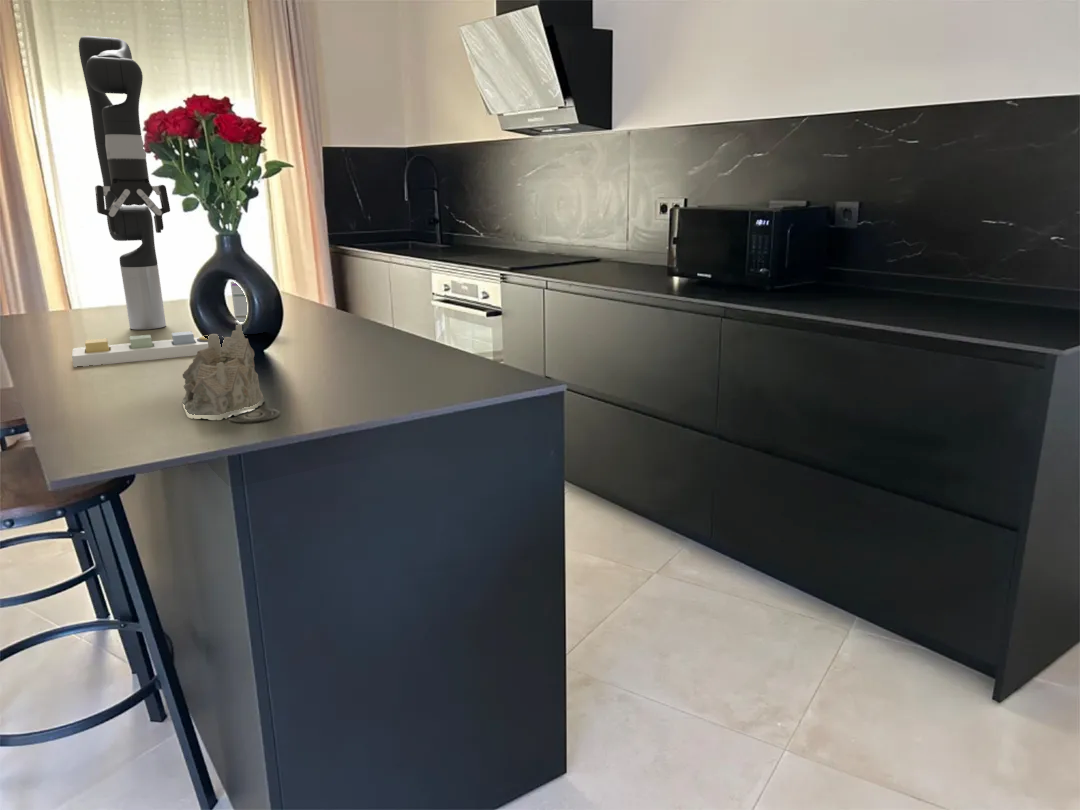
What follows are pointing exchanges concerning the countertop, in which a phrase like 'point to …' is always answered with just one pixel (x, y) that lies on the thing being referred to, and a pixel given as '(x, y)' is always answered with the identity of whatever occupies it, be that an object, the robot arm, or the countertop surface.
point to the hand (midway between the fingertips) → (137, 233)
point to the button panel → (138, 352)
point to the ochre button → (96, 345)
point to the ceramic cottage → (222, 377)
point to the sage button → (141, 341)
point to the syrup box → (239, 302)
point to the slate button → (183, 338)
